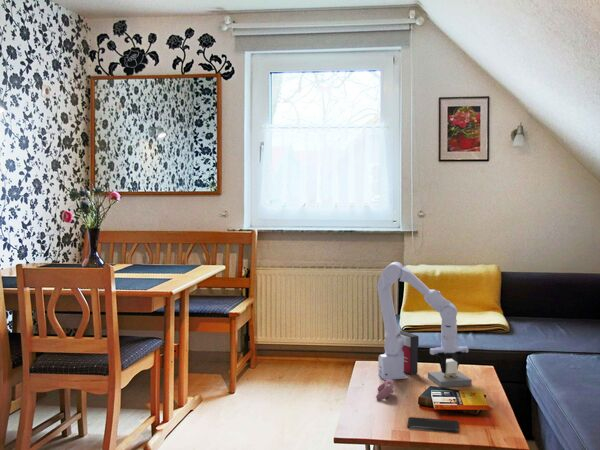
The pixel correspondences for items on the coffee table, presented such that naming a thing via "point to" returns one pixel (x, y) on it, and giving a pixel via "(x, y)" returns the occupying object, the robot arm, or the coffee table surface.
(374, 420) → the coffee table surface
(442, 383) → the socket
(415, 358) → the dark grey red box
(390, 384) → the pink lumpy figure
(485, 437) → the coffee table surface
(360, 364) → the coffee table surface
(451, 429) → the phone
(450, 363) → the white rectangular box
